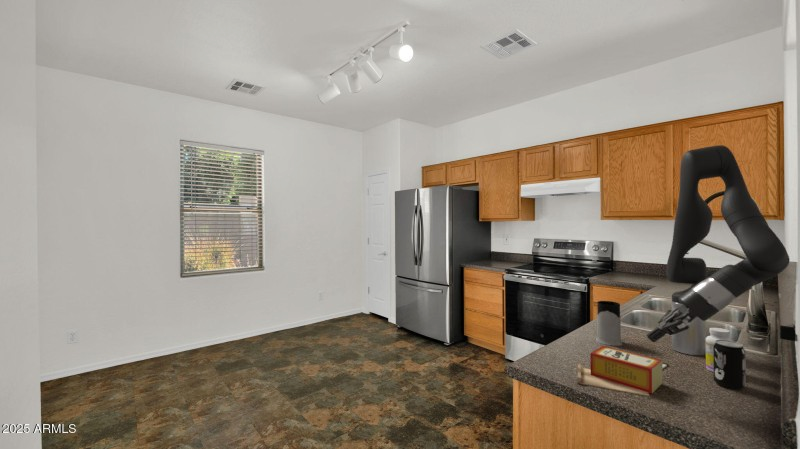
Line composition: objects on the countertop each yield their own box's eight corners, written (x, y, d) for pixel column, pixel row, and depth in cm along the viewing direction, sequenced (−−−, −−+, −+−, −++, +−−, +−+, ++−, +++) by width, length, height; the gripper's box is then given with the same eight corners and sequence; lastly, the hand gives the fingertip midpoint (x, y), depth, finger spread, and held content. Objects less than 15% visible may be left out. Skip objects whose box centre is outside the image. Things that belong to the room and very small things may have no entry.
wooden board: (577, 368, 112) (577, 362, 112) (642, 378, 104) (642, 372, 104) (577, 383, 101) (577, 377, 101) (649, 396, 94) (649, 389, 94)
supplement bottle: (727, 368, 110) (727, 327, 110) (740, 377, 104) (739, 333, 104) (701, 365, 113) (701, 325, 113) (712, 374, 106) (711, 331, 106)
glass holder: (594, 342, 135) (593, 303, 135) (599, 333, 146) (599, 297, 146) (621, 347, 130) (620, 306, 130) (624, 337, 141) (624, 299, 141)
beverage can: (707, 380, 102) (707, 339, 102) (728, 379, 103) (727, 338, 103) (730, 391, 96) (730, 347, 95) (752, 390, 96) (752, 346, 96)
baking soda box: (651, 369, 94) (589, 352, 107) (652, 393, 94) (589, 374, 107) (662, 360, 100) (601, 345, 113) (662, 383, 100) (601, 365, 113)
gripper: (686, 283, 99) (634, 322, 105) (700, 292, 87) (641, 335, 93) (711, 304, 97) (656, 342, 102) (729, 316, 85) (666, 358, 90)
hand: (649, 338), depth 97 cm, fingers closed
